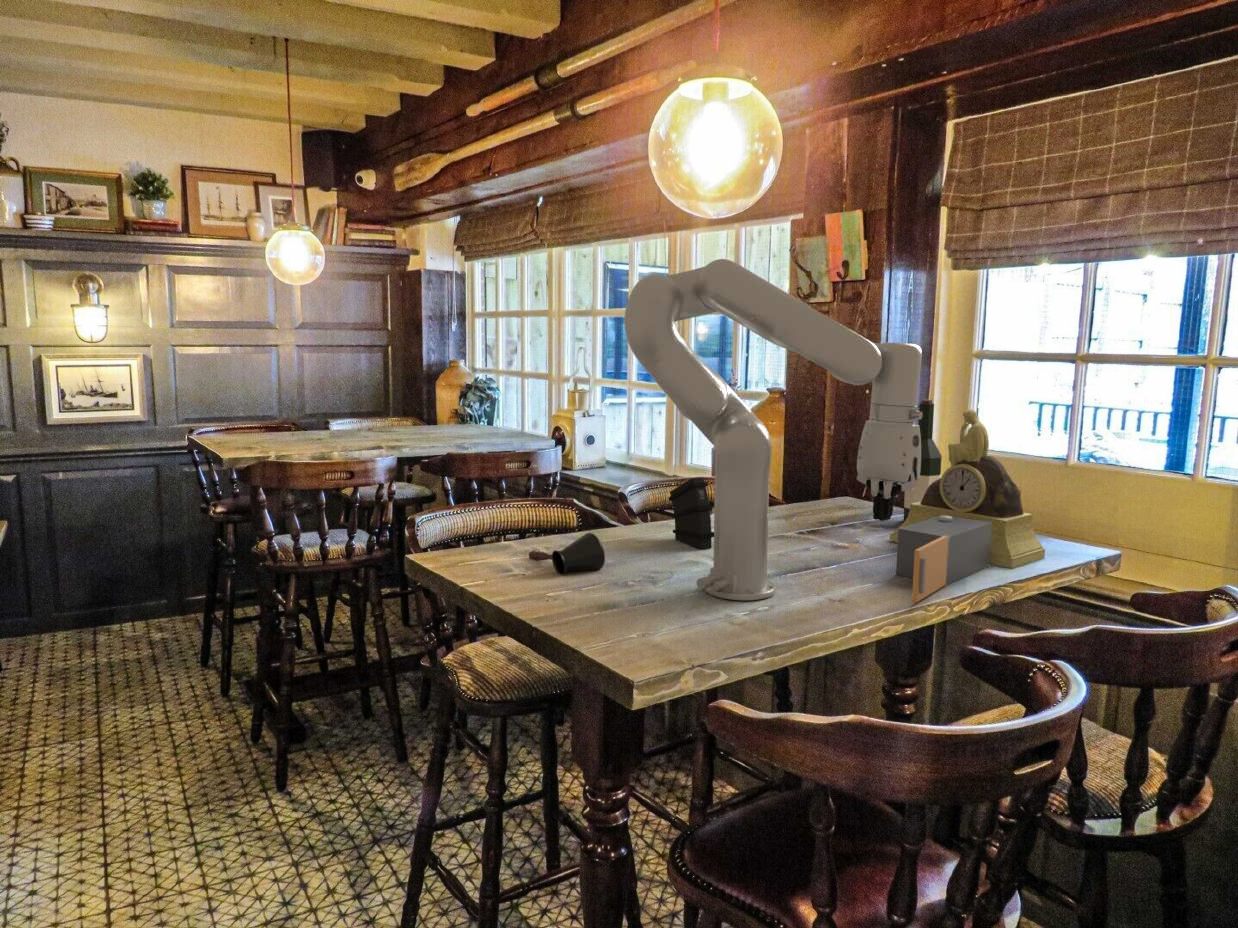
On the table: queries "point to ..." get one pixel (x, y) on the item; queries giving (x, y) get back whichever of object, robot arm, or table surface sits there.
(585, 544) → the coffee pot
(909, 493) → the wine bottle
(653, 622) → the table surface
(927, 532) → the grey box with knob
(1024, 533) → the decorative clock
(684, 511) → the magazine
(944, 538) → the side door
